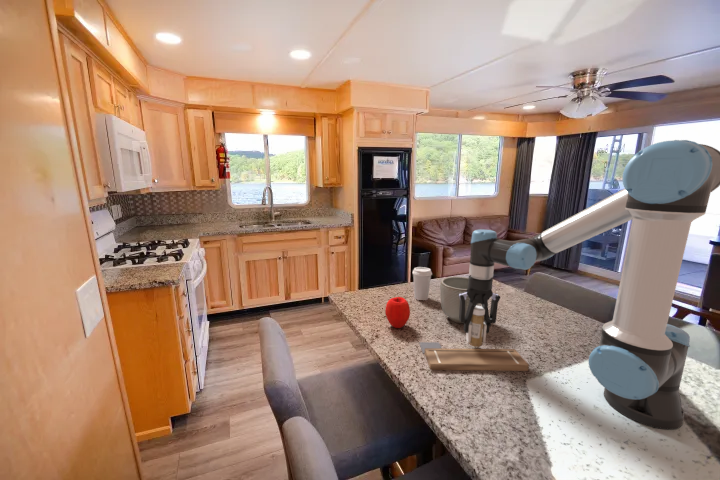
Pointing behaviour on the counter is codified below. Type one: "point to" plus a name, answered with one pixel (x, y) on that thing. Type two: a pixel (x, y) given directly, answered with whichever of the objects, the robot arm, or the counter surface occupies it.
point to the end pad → (429, 345)
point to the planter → (453, 296)
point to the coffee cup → (421, 282)
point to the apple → (397, 311)
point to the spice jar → (477, 326)
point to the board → (475, 359)
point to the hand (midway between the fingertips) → (475, 340)
